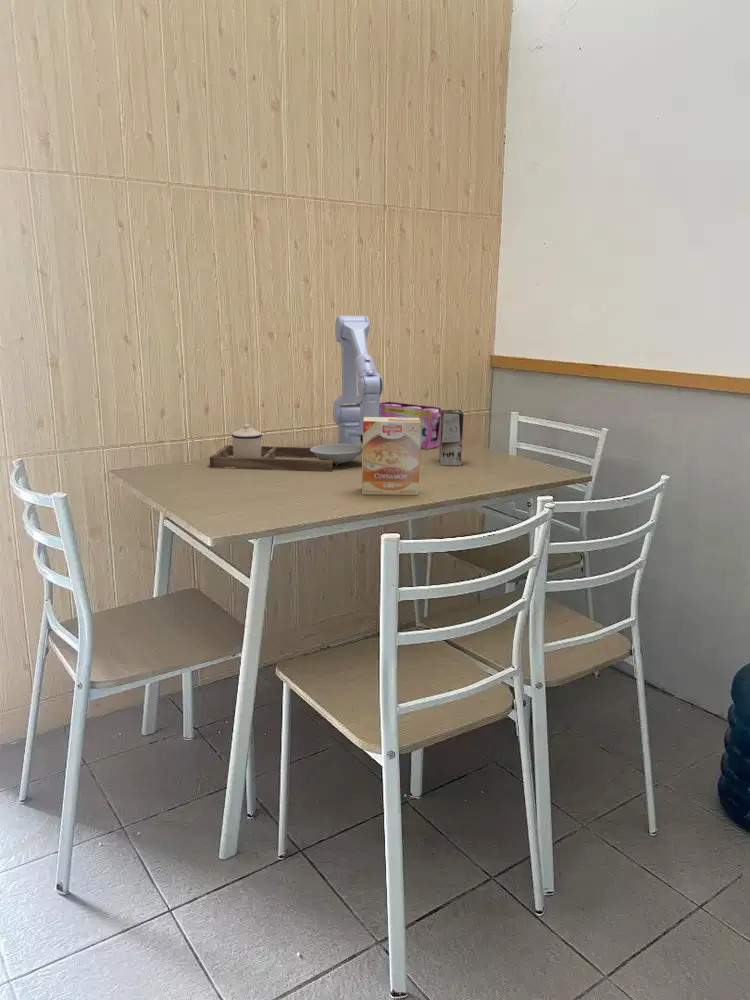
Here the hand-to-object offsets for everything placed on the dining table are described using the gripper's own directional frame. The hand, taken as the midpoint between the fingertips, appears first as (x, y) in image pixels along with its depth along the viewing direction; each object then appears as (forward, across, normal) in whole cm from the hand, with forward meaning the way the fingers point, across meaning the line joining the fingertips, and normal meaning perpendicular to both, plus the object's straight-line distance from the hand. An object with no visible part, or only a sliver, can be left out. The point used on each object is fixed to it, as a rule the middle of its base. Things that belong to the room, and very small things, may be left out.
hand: (368, 460), depth 229 cm
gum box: (+2, +11, +37) cm, 39 cm away
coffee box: (+2, +25, +8) cm, 26 cm away
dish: (+2, -10, 0) cm, 10 cm away
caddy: (+1, -28, 0) cm, 28 cm away
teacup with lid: (+2, -38, 0) cm, 38 cm away
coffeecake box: (+2, +8, -31) cm, 32 cm away
